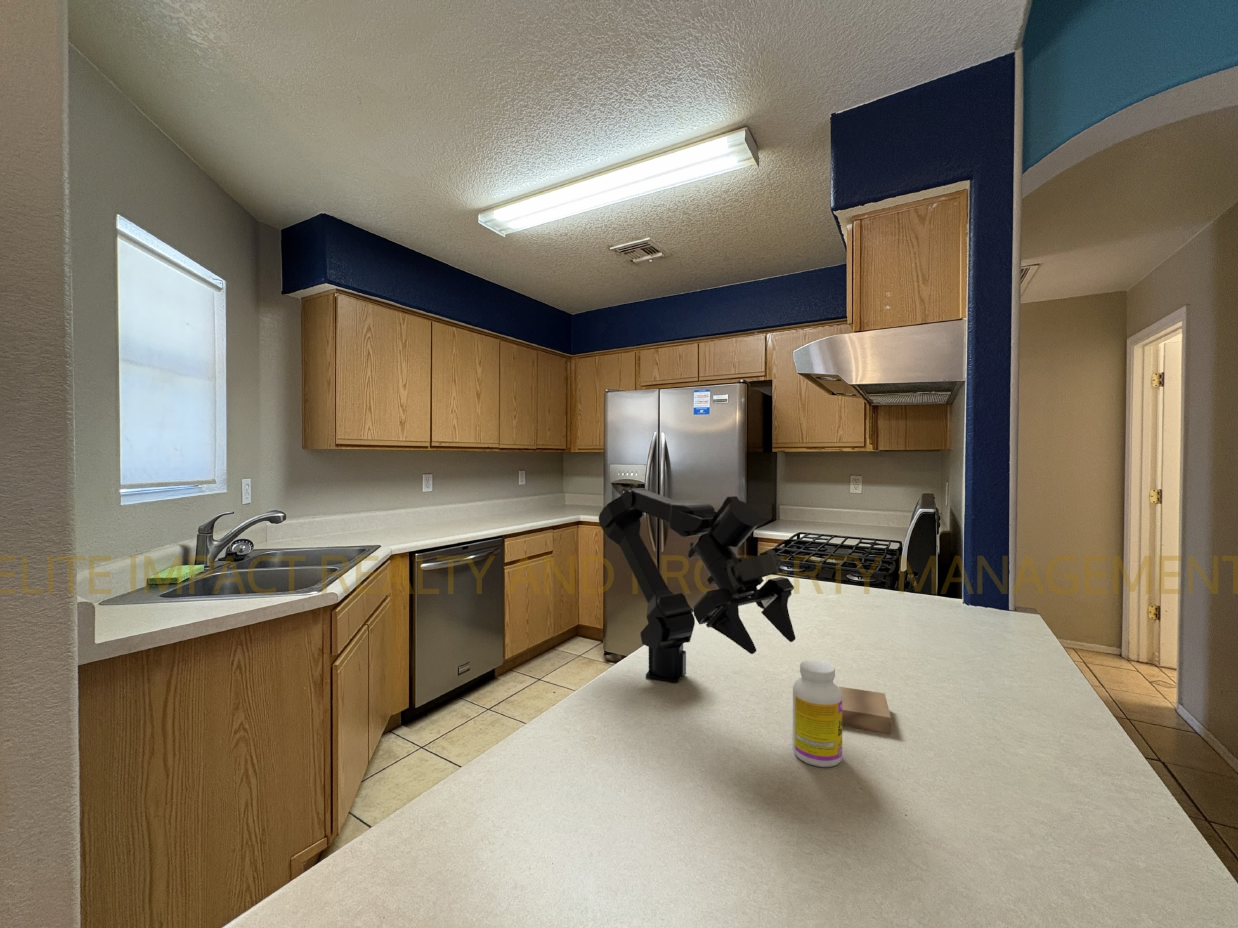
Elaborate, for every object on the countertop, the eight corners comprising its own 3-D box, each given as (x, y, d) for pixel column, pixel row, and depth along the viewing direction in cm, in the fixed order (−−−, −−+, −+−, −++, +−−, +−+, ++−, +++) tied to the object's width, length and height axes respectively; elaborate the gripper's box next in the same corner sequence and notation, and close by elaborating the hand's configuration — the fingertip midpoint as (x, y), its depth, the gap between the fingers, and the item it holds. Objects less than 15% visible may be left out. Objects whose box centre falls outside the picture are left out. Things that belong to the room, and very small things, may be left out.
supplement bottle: (847, 771, 71) (847, 677, 71) (795, 766, 72) (796, 673, 72) (836, 745, 77) (837, 658, 77) (789, 740, 79) (790, 655, 78)
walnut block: (827, 722, 84) (828, 707, 84) (827, 698, 92) (827, 684, 92) (890, 733, 80) (890, 717, 80) (884, 707, 89) (884, 693, 89)
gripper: (706, 539, 80) (763, 630, 71) (785, 530, 90) (843, 608, 81) (672, 580, 86) (721, 669, 77) (749, 567, 97) (800, 644, 88)
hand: (774, 646), depth 81 cm, fingers open, 9 cm apart
